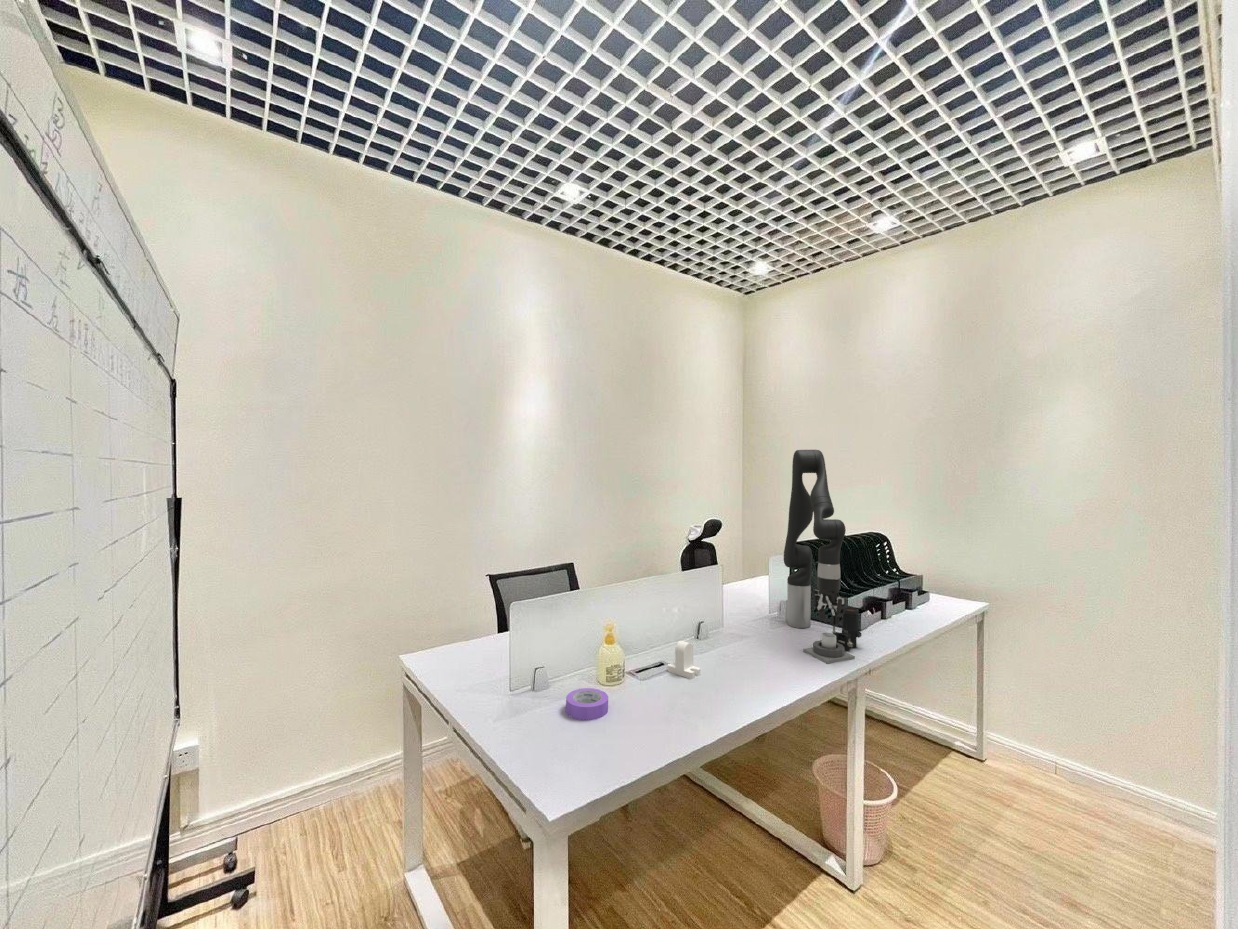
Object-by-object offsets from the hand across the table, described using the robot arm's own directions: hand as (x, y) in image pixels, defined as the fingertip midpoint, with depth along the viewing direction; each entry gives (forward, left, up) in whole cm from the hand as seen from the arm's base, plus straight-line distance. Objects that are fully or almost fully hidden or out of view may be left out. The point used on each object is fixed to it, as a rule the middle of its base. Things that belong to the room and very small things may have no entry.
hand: (828, 622), depth 185 cm
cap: (0, 0, -10) cm, 10 cm away
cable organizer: (-5, -55, -12) cm, 56 cm away
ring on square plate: (0, 0, -11) cm, 11 cm away
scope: (-4, +13, -12) cm, 18 cm away
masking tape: (+8, -92, -12) cm, 93 cm away
